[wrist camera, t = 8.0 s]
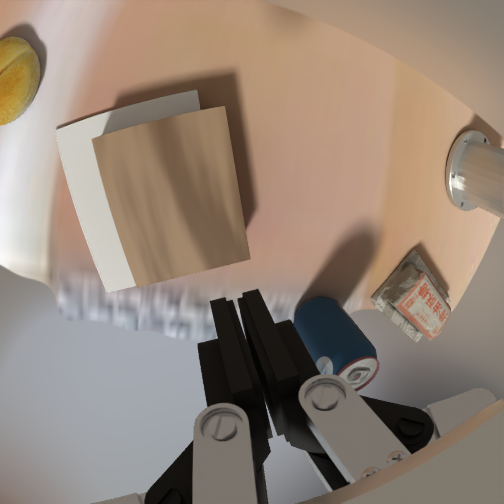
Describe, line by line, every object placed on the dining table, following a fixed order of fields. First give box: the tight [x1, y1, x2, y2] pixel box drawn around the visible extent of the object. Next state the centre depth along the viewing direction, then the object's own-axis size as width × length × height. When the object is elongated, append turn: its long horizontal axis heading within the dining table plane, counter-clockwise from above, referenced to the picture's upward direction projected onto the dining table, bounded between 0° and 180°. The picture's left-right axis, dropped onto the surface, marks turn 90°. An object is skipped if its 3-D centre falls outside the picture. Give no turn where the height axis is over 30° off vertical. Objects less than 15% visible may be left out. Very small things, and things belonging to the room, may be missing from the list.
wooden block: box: [92, 106, 250, 287], centre depth 27 cm, size 4×14×11 cm
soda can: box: [293, 297, 379, 391], centre depth 35 cm, size 7×7×12 cm
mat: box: [55, 90, 201, 293], centre depth 28 cm, size 14×18×1 cm
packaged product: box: [370, 249, 451, 342], centre depth 44 cm, size 18×5×10 cm
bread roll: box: [0, 36, 40, 126], centre depth 18 cm, size 8×9×4 cm
